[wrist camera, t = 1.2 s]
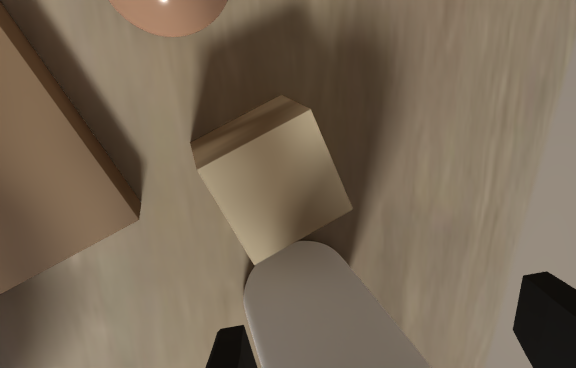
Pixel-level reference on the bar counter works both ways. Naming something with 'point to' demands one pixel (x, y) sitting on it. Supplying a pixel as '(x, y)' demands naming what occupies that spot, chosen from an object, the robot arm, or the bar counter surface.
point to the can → (320, 314)
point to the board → (49, 169)
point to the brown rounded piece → (170, 15)
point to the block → (271, 176)
